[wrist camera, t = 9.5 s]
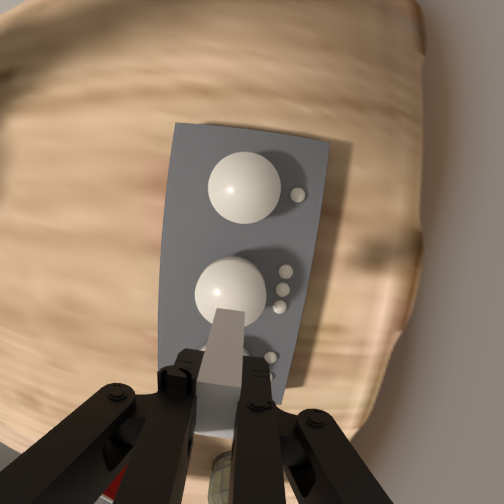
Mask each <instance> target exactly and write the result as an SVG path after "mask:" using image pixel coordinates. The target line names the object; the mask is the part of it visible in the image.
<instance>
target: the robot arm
mask: <svg viewBox="0 0 504 504" xmlns="http://www.w3.org/2000/svg"><path fill="white" fill-rule="evenodd" d="M244 323H245V311H237V310H229V309H222V308H217V309H216V312H215V316H214V320H213V323H212V327H211V330H210V334H209V338H208V341H207V345H206V349H205V351H201V350H194V349H188V348H185V349H183V350H182V351H181V352H179V353H178V355H177V358H176V361H175V363H174V365H170V366H165V367H163V368H161V369H160V370H159V371H158V372H157V378H158V391H157V393H153V394H146V395H136V394H135V392H134V390H133V389H132V388H131V387H129V386H128V385H125V384H122V383H111V384H107V385H105V386H104V387H102V388H101V389H100V390H98V391H97V392H96V393H95V394H94V395H92V396H91V397H90V398H89V399H88V400H86V401H85V402H84V403H83V404H82V405H80V406H79V407H78V408H77V409H76V410H74V411H73V412H72V413H71V414H70V415H68V416H67V417H66V418H65V419H64V420H62V421H61V422H60V423H59V424H58V425H56V426H55V427H54V428H53V429H52V430H50V431H49V432H48V433H47V434H46V435H44V436H43V437H42V438H41V439H40V440H38V441H37V442H36V443H35V444H33V445H32V446H31V447H30V448H29V449H27V450H26V451H25V452H24V453H23V454H21V455H20V456H19V457H18V458H16V459H15V460H14V461H13V462H12V463H10V465H8V466H7V467H6V468H4V469H3V470H2V471H1V472H0V504H94V503H95V502H96V501H97V500H98V498H99V497H100V496H101V495H102V494H103V492H104V491H105V490H106V489H107V488H108V486H109V485H110V484H111V483H112V482H113V480H114V479H115V478H116V477H117V476H118V474H119V473H120V472H121V471H122V469H123V468H124V467H125V466H126V465H127V463H128V465H127V467H126V470H125V472H124V475H123V477H122V480H121V482H120V485H119V488H118V490H117V493H116V495H115V498H114V501H113V503H112V504H181V501H182V496H183V491H184V486H185V481H186V476H187V471H188V466H189V461H190V456H191V451H192V446H193V434H199V435H205V436H212V437H220V438H228V439H233V443H232V449H231V455H230V460H231V463H230V477H229V490H228V504H286V498H285V487H284V477H283V469H284V472H285V474H286V476H287V478H288V481H289V483H290V485H291V487H292V490H293V492H294V494H295V496H296V498H297V501H298V503H299V504H393V502H392V501H391V500H390V498H389V497H388V496H387V494H386V493H385V491H384V490H383V488H382V487H381V486H380V484H379V483H378V481H377V480H376V479H375V478H374V476H373V474H372V473H371V472H370V470H369V469H368V467H367V466H366V465H365V463H364V462H363V460H362V459H361V458H360V456H359V455H358V454H357V452H356V450H355V449H354V448H353V446H352V445H351V443H350V442H349V440H348V439H347V438H346V436H345V435H344V433H343V432H342V430H341V429H340V427H339V426H338V425H337V423H336V422H335V420H334V419H333V417H332V416H331V415H330V414H329V413H327V412H325V411H323V410H319V409H306V410H303V411H302V412H300V413H299V414H298V415H294V414H290V413H287V412H284V411H282V410H281V409H279V408H278V407H277V406H276V404H275V402H274V401H273V400H272V390H271V380H270V369H269V364H268V362H267V361H266V360H265V358H262V357H252V356H243V343H244Z"/></svg>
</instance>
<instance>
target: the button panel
mask: <svg viewBox="0 0 504 504" xmlns="http://www.w3.org/2000/svg"><path fill="white" fill-rule="evenodd" d="M329 148H330V142H325V141H320V140H315V139H309V138H304V137H298V136H292V135H286V134H280V133H273V132H266V131H259V130H251V129H243V128H234V127H225V126H215V125H203V124H189V123H175V129H174V135H173V142H172V149H171V156H170V164H169V171H168V180H167V188H166V198H165V207H164V218H163V230H162V243H161V257H160V275H159V300H158V371H159V370H160V369H161V368H163V367H165V366H170V365H174V363H175V361H176V358H177V355H178V353H179V352H181V351H182V350H183V349H185V348H188V349H194V350H199V348H200V347H201V346H202V345H204V344H205V343H207V341H208V338H209V334H210V330H211V327H212V323H210V322H209V321H207V320H206V319H205V318H204V317H203V316H202V314H201V313H200V311H199V310H198V308H197V305H196V301H195V288H196V284H197V282H198V280H199V278H200V276H201V274H202V272H203V271H204V269H205V268H206V267H207V266H208V265H209V264H210V263H211V262H213V261H214V260H216V259H218V258H221V257H226V256H236V257H241V258H244V259H246V260H248V261H250V262H251V263H253V264H254V265H255V266H256V267H257V268H258V269H259V271H260V272H261V274H262V276H263V279H264V282H265V288H266V304H265V307H264V310H263V311H262V313H261V315H260V316H259V317H258V318H257V319H256V320H255V321H254V322H253V323H251V324H249V325H248V326H245V327H244V343H243V347H244V348H245V349H246V350H247V351H248V353H249V354H250V356H252V357H262V358H265V360H266V361H267V362H268V364H269V369H270V380H271V390H272V400H273V401H274V402H275V404H279V405H281V403H282V399H283V395H284V391H285V387H286V383H287V379H288V375H289V371H290V366H291V362H292V358H293V354H294V349H295V345H296V340H297V336H298V331H299V326H300V322H301V317H302V312H303V307H304V302H305V297H306V292H307V287H308V282H309V277H310V271H311V266H312V260H313V255H314V249H315V243H316V237H317V231H318V225H319V219H320V212H321V206H322V199H323V192H324V185H325V178H326V171H327V163H328V156H329ZM238 152H252V153H256V154H259V155H261V156H263V157H264V158H266V159H267V160H268V161H269V162H270V163H271V164H272V165H273V166H274V167H275V169H276V171H277V173H278V175H279V178H280V183H281V193H280V198H279V200H278V203H277V205H276V207H275V208H274V210H273V211H272V212H271V213H270V214H269V215H268V216H266V217H265V218H263V219H262V220H260V221H257V222H254V223H249V224H239V223H235V222H232V221H229V220H227V219H225V218H224V217H222V216H221V215H220V214H219V213H218V212H217V211H216V210H215V208H214V207H213V205H212V203H211V201H210V198H209V194H208V182H209V178H210V175H211V173H212V171H213V169H214V167H215V166H216V165H217V164H218V163H219V162H220V161H221V160H222V159H223V158H225V157H227V156H229V155H231V154H234V153H238Z"/></svg>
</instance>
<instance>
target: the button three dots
mask: <svg viewBox="0 0 504 504" xmlns="http://www.w3.org/2000/svg"><path fill="white" fill-rule="evenodd" d="M195 301H196V305H197V308H198V310H199V311H200V313H201V314H202V316H203V317H204V318H205V319H206V320H207V321H209V322H210V323H213V320H214V316H215V312H216V309H217V308H222V309H229V310H237V311H245V323H244V327H245V326H248V325H249V324H251V323H253V322H254V321H255V320H256V319H257V318H258V317H259V316H260V315H261V313H262V311H263V310H264V307H265V304H266V288H265V282H264V279H263V276H262V274H261V272H260V271H259V269H258V268H257V267H256V266H255V265H254V264H253V263H251V262H250V261H248V260H246V259H244V258H241V257H236V256H226V257H221V258H218V259H216V260H214V261H213V262H211V263H210V264H209V265H208V266H207V267H206V268H205V269H204V271H203V272H202V274H201V276H200V278H199V280H198V282H197V284H196V288H195Z"/></svg>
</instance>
